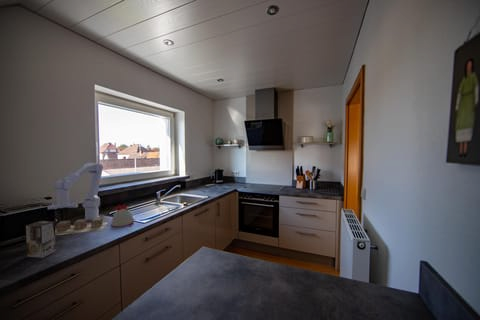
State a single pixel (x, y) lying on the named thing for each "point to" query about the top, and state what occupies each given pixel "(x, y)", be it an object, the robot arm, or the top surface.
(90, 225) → the board
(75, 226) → the one bar block
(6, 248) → the top surface
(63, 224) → the plain block
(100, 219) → the two bar block
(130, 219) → the white red-topped dome
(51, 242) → the coffee box
